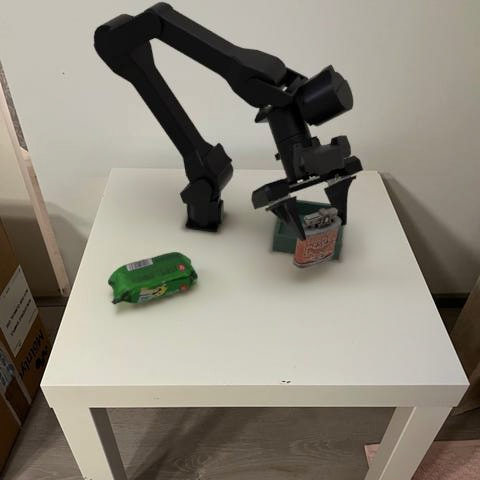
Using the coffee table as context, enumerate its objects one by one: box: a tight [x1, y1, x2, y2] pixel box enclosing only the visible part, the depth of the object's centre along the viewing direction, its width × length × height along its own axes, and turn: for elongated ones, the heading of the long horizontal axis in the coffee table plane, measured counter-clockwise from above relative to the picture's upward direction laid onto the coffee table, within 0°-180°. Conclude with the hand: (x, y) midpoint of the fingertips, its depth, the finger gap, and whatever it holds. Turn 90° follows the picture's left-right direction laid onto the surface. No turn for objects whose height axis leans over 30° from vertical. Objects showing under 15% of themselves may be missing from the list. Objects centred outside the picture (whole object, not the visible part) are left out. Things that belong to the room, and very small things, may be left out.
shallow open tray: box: [271, 199, 344, 261], centre depth 95 cm, size 13×13×4 cm
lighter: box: [292, 208, 342, 270], centre depth 81 cm, size 8×3×10 cm, turn 119°
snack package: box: [107, 251, 199, 305], centre depth 83 cm, size 7×16×5 cm, turn 115°
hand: (324, 233), depth 79 cm, fingers closed on lighter, 8 cm apart
